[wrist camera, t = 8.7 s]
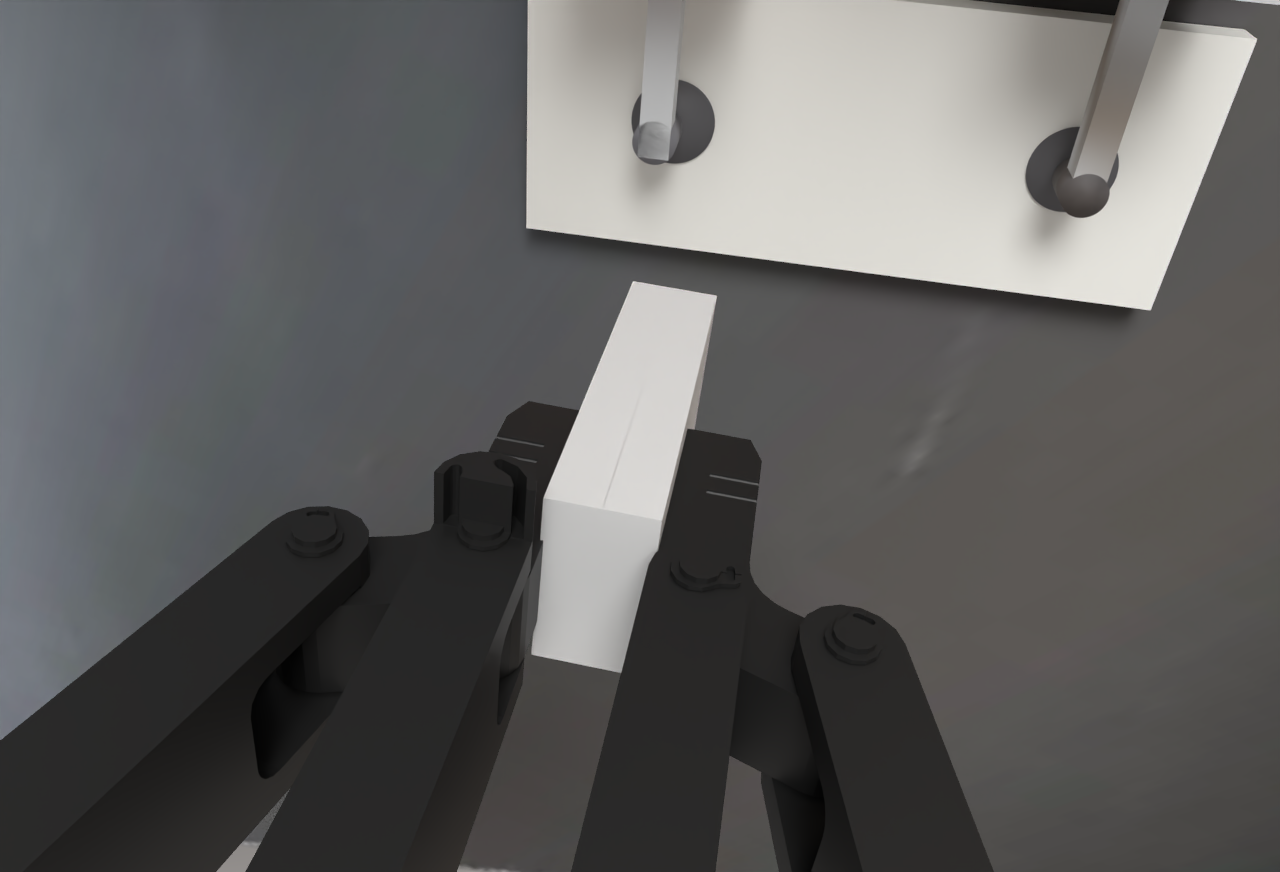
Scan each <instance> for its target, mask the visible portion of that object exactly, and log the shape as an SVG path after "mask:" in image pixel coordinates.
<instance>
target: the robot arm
mask: <svg viewBox="0 0 1280 872" xmlns="http://www.w3.org/2000/svg"><path fill="white" fill-rule="evenodd" d="M716 298H717V296H715V295H709V294H703V293H698V292H692V291H686V290H681V289H675V288H669V287H664V286H658V285H652V284H646V283H641V282H635V281H633V283H632V285H631V288H630V290H629V292H628V295H627V297H626V300H625V302H624V304H623V307H622V309H621V312H620V314H619V316H618V319H617V321H616V324H615V326H614V329H613V331H612V333H611V336H610V338H609V341H608V343H607V345H606V348H605V350H604V353H603V355H602V357H601V360H600V362H599V365H598V367H597V370H596V372H595V374H594V377H593V379H592V382H591V384H590V386H589V389H588V391H587V394H586V396H585V399H584V401H583V403H582V406H581V408H580V411H579V410H573V409H568V408H562V407H557V406H552V405H546V404H541V403H535V402H530V401H529V402H527V403H526V404H524V405H523V406H521V407H520V408H518V409H517V410H515V411H514V412H512V413H511V414H509V415H508V416H507V417H506V419H505V421H504V423H503V425H502V427H501V429H500V431H499V433H498V435H497V439H495V440H494V442H493V444H492V446H491V448H490V450H489V452H473V453H467V454H460V455H458V456H456V457H454V458H451V459H449V460H447V461H445V462H444V463H443V464H442V465H441V466H440V467H439V468H438V469H437V470H436V471H435V472H434V524H433V526H432V528H431V530H430V531H426V532H422V533H419V534H415V535H405V536H388V537H369V530H368V529H367V527H366V526H365V524H364V523H363V521H362V519H361V518H359V517H357V516H355V515H354V514H352V513H350V512H349V511H347V510H342V509H338V508H334V507H329V506H326V507H306V508H302V509H298V510H295V511H291V512H288V513H286V514H284V515H283V516H281V517H279V518H277V519H276V520H274V521H272V522H271V523H270V524H268V525H267V526H266V527H265V528H263V529H262V530H261V531H260V532H258V533H257V534H256V535H255V536H254V537H252V538H251V539H250V540H249V541H247V542H246V543H245V544H244V545H242V546H241V547H240V548H239V549H237V550H236V551H235V552H234V553H232V554H231V555H230V556H229V557H227V558H226V559H225V560H224V561H222V562H221V563H220V564H219V565H218V566H216V567H215V568H214V569H213V570H211V571H210V572H209V573H208V574H206V575H205V576H204V577H203V578H201V579H200V580H199V581H198V582H196V583H195V584H194V585H193V586H191V587H190V588H189V589H188V590H187V591H185V592H184V593H183V594H182V595H180V596H179V597H178V598H177V599H175V600H174V601H173V602H172V603H170V604H169V605H168V606H167V607H165V608H164V609H163V610H162V611H160V612H159V613H158V614H157V615H155V616H154V617H153V618H152V619H151V620H149V621H148V622H147V623H146V624H144V625H143V626H142V627H141V628H139V629H138V630H137V631H136V632H134V633H133V634H132V635H131V636H129V637H128V638H127V639H126V640H124V641H123V642H122V643H121V644H120V645H118V646H117V647H116V648H115V649H113V650H112V651H111V652H110V653H108V654H107V655H106V656H105V657H103V658H102V659H101V660H100V661H98V662H97V663H96V664H95V665H93V666H92V667H91V668H90V669H88V670H87V671H86V672H85V673H84V674H82V675H81V676H80V677H79V678H77V679H76V680H75V681H74V682H72V683H71V684H70V685H69V686H67V687H66V688H65V689H64V690H62V691H61V692H60V693H59V694H57V695H56V696H55V697H54V698H53V699H51V700H50V701H49V702H48V703H46V704H45V705H44V706H43V707H41V708H40V709H39V710H38V711H36V712H35V713H34V714H33V715H31V716H30V717H29V718H28V719H26V720H25V721H24V722H23V723H21V724H20V725H19V726H18V727H17V728H15V729H14V730H13V731H12V732H10V733H9V734H8V735H7V736H5V737H4V738H3V739H2V740H0V872H216V871H217V870H218V869H219V868H220V867H221V865H222V864H223V863H224V862H225V861H226V860H227V859H228V858H229V856H230V855H231V854H232V853H233V852H234V851H235V850H236V849H237V847H238V846H239V845H240V844H241V843H242V842H243V841H244V839H245V838H246V837H247V836H248V835H249V834H250V833H251V832H252V830H253V829H254V828H255V827H256V826H257V825H258V824H259V823H260V821H261V820H262V819H263V818H264V817H265V816H266V815H267V813H268V812H269V811H270V810H271V809H272V808H273V807H274V806H275V804H276V803H277V802H278V801H279V800H280V799H281V798H282V796H283V795H284V794H285V793H286V792H287V791H288V790H289V789H290V787H291V786H292V787H291V789H290V790H289V792H288V794H287V796H286V798H285V800H284V801H283V803H282V805H281V807H280V809H279V811H278V813H277V814H276V816H275V818H274V820H273V822H272V824H271V826H270V827H269V829H268V831H267V833H266V835H265V837H264V838H263V840H262V842H261V844H260V846H259V848H258V850H257V852H256V853H255V855H254V857H253V859H252V861H251V863H250V864H249V866H248V868H247V870H246V872H457V869H458V867H459V864H460V861H461V858H462V855H463V852H464V849H465V846H466V844H467V841H468V838H469V835H470V832H471V829H472V826H473V824H474V821H475V818H476V815H477V812H478V809H479V806H480V804H481V801H482V798H483V795H484V792H485V789H486V786H487V783H488V781H489V778H490V775H491V772H492V769H493V766H494V763H495V761H496V758H497V755H498V752H499V749H500V746H501V743H502V740H503V738H504V735H505V732H506V729H507V726H508V723H509V720H510V718H511V715H512V712H513V709H514V706H515V703H516V700H517V698H518V695H519V692H520V689H521V686H522V682H523V669H524V657H525V654H526V651H527V648H528V645H529V643H530V640H531V637H532V634H533V640H532V654H531V655H536V656H541V657H546V658H551V659H556V660H561V661H565V662H570V663H575V664H580V665H585V666H590V667H595V668H600V669H605V670H609V671H614V672H619V673H621V676H620V680H619V684H618V688H617V692H616V696H615V700H614V704H613V708H612V712H611V716H610V719H609V723H608V727H607V731H606V735H605V739H604V743H603V747H602V751H601V755H600V759H599V763H598V767H597V771H596V775H595V779H594V783H593V787H592V791H591V795H590V799H589V803H588V807H587V811H586V815H585V819H584V823H583V827H582V831H581V835H580V839H579V843H578V847H577V850H576V854H575V858H574V862H573V866H572V870H571V872H715V870H716V862H717V853H718V845H719V837H720V829H721V820H722V812H723V804H724V796H725V787H726V779H727V771H728V763H729V755H730V756H732V757H734V758H735V759H737V760H739V761H741V762H743V763H745V764H747V765H749V766H751V767H753V768H755V769H757V770H759V771H761V784H762V789H763V794H764V799H765V804H766V809H767V814H768V819H769V824H770V829H771V834H772V839H773V844H774V849H775V854H776V859H777V864H778V869H779V872H994V871H993V869H992V866H991V863H990V861H989V858H988V856H987V853H986V851H985V848H984V845H983V843H982V840H981V838H980V835H979V833H978V830H977V827H976V825H975V822H974V820H973V817H972V814H971V812H970V809H969V807H968V804H967V802H966V799H965V796H964V794H963V791H962V789H961V786H960V784H959V781H958V778H957V776H956V773H955V771H954V768H953V766H952V763H951V760H950V758H949V755H948V753H947V750H946V748H945V745H944V742H943V740H942V737H941V735H940V732H939V730H938V727H937V724H936V722H935V719H934V717H933V714H932V711H931V709H930V706H929V704H928V701H927V699H926V696H925V693H924V691H923V688H922V686H921V683H920V681H919V678H918V675H917V673H916V670H915V668H914V665H913V663H912V660H911V657H910V655H909V652H908V650H907V647H906V645H905V643H904V641H903V640H902V638H901V637H900V635H899V634H898V632H897V631H896V629H895V628H893V627H892V626H891V625H890V624H888V623H887V622H886V621H885V620H883V619H882V618H881V617H879V616H877V615H875V614H873V613H870V612H868V611H866V610H864V609H861V608H856V607H851V606H845V605H834V606H825V607H821V608H819V609H817V610H815V611H813V612H811V613H809V614H807V616H806V617H805V618H803V617H801V616H799V615H797V614H795V613H792V612H790V611H788V610H786V609H784V608H783V607H781V606H779V605H777V604H775V603H774V602H773V601H771V600H770V599H769V598H768V597H766V596H765V595H764V594H763V593H762V592H761V591H760V589H759V588H758V587H757V586H756V584H755V583H754V580H753V578H752V576H751V573H750V563H749V562H750V554H751V546H752V537H753V529H754V521H755V512H756V504H757V503H756V502H757V496H758V488H759V479H760V471H761V463H762V461H761V459H760V457H759V455H758V453H757V451H756V449H755V447H754V446H753V444H752V442H751V440H747V439H742V438H736V437H731V436H726V435H720V434H715V433H709V432H704V431H699V430H694V428H695V423H696V417H697V411H698V405H699V399H700V393H701V387H702V381H703V375H704V369H705V364H706V358H707V352H708V346H709V340H710V334H711V328H712V322H713V316H714V310H715V304H716Z"/></svg>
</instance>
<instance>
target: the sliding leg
mask: <svg viewBox="0 0 1280 872" xmlns="http://www.w3.org/2000/svg"><path fill="white" fill-rule="evenodd" d="M685 3H686V0H648V9H647V24H646V38H645V53H644V68H643V82H642V97H641V111H640V123H639V125H638V127H637V129H636V130H635V132H634V135H633V138H632V146H633V150H634V152H635V154H636V155H637V157H638V158H639V159H640V160H642V161H643V162H645V163H647V164H651V165H659V164H663V163H665V162H667V161H668V160H669V159H670V158H671V157H672V156H673V154H674V152H675V149H676V147H677V144H678V142H679V139H680V137H681V134H682V122H681V119H680V117H679V116H678V114H677V113H676V105H677V93H678V82H679V71H680V59H681V48H682V37H683V25H684V14H685Z"/></svg>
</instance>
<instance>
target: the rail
mask: <svg viewBox="0 0 1280 872" xmlns="http://www.w3.org/2000/svg"><path fill="white" fill-rule="evenodd" d="M1238 1H1247V2H1257V3H1267V4H1276V5H1280V0H1238ZM1168 2H1169V0H1120V1H1119V4H1118V8H1117V11H1116V14H1115V17H1114V20H1113V23H1112V27H1111V30H1110V33H1109V36H1108V39H1107V43H1106V46H1105V49H1104V52H1103V55H1102V58H1101V62H1100V65H1099V68H1098V71H1097V74H1096V78H1095V81H1094V84H1093V87H1092V90H1091V93H1090V97H1089V100H1088V103H1087V106H1086V109H1085V112H1084V116H1083V119H1082V122H1081V125H1080V128H1079V132H1078V135H1077V138H1076V141H1075V144H1074V147H1073V151H1072V154H1071V157H1070V158H1068V159H1066V160H1064V161H1063V162H1061V163H1060V164H1059V165H1058V166H1057V168H1056V169H1055V171H1054V173H1053V176H1052V185H1053V188H1054V190H1055V193H1056V195H1057V197H1058V199H1059V202H1060V204H1061V206H1062V208H1063V210H1064V211H1065V212H1066V213H1067V214H1069V215H1070V216H1072V217H1076V218H1086V217H1090V216H1093V215H1095V214H1097V213H1098V212H1099V211H1101V210H1102V209H1103V208H1104V206H1105V205H1106V203H1107V202H1108V199H1109V195H1110V190H1109V186H1108V184H1107V181H1108V179H1109V176H1110V173H1111V170H1112V167H1113V164H1114V161H1115V158H1116V155H1117V152H1118V149H1119V146H1120V143H1121V140H1122V137H1123V134H1124V132H1125V129H1126V126H1127V123H1128V120H1129V117H1130V114H1131V111H1132V108H1133V105H1134V102H1135V99H1136V96H1137V93H1138V90H1139V87H1140V84H1141V82H1142V79H1143V76H1144V73H1145V70H1146V67H1147V64H1148V61H1149V58H1150V55H1151V52H1152V49H1153V46H1154V43H1155V40H1156V37H1157V35H1158V32H1159V29H1160V26H1161V23H1162V20H1163V17H1164V14H1165V11H1166V8H1167V5H1168Z"/></svg>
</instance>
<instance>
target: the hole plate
mask: <svg viewBox="0 0 1280 872" xmlns="http://www.w3.org/2000/svg"><path fill="white" fill-rule="evenodd" d="M647 9H648V0H528V61H527V223H526V228H530V229H537V230H545V231H553V232H560V233H568V234H575V235H583V236H590V237H598V238H606V239H613V240H621V241H628V242H636V243H644V244H651V245H659V246H666V247H674V248H682V249H689V250H697V251H704V252H712V253H720V254H727V255H735V256H742V257H750V258H757V259H765V260H773V261H780V262H788V263H795V264H803V265H811V266H818V267H826V268H833V269H841V270H849V271H856V272H864V273H871V274H879V275H886V276H894V277H902V278H909V279H917V280H924V281H932V282H940V283H947V284H955V285H962V286H970V287H978V288H985V289H993V290H1000V291H1008V292H1015V293H1023V294H1031V295H1038V296H1046V297H1053V298H1061V299H1069V300H1076V301H1084V302H1091V303H1099V304H1107V305H1114V306H1122V307H1129V308H1137V309H1144V310H1151V308H1152V305H1153V303H1154V300H1155V298H1156V295H1157V292H1158V290H1159V287H1160V285H1161V282H1162V280H1163V277H1164V275H1165V272H1166V270H1167V267H1168V265H1169V262H1170V259H1171V257H1172V254H1173V252H1174V249H1175V247H1176V244H1177V242H1178V239H1179V237H1180V234H1181V232H1182V229H1183V227H1184V224H1185V221H1186V219H1187V216H1188V214H1189V211H1190V209H1191V206H1192V204H1193V201H1194V199H1195V196H1196V194H1197V191H1198V188H1199V186H1200V183H1201V181H1202V178H1203V176H1204V173H1205V171H1206V168H1207V166H1208V163H1209V161H1210V158H1211V155H1212V153H1213V150H1214V148H1215V145H1216V143H1217V140H1218V138H1219V135H1220V133H1221V130H1222V128H1223V125H1224V123H1225V120H1226V117H1227V115H1228V112H1229V110H1230V107H1231V105H1232V102H1233V100H1234V97H1235V95H1236V92H1237V90H1238V87H1239V84H1240V82H1241V79H1242V77H1243V74H1244V72H1245V69H1246V67H1247V64H1248V62H1249V59H1250V57H1251V54H1252V51H1253V49H1254V46H1255V44H1256V41H1257V39H1256V38H1255V37H1254V36H1252V35H1251V34H1250V33H1248V32H1247V31H1246V30H1245V29H1235V28H1226V27H1217V26H1207V25H1198V24H1188V23H1179V22H1170V21H1162V23H1161V26H1160V29H1159V32H1158V35H1157V37H1156V40H1155V43H1154V46H1153V49H1152V52H1151V55H1150V58H1149V61H1148V64H1147V67H1146V70H1145V73H1144V76H1143V79H1142V82H1141V84H1140V87H1139V90H1138V93H1137V96H1136V99H1135V102H1134V105H1133V108H1132V111H1131V114H1130V117H1129V120H1128V123H1127V126H1126V129H1125V132H1124V134H1123V137H1122V140H1121V143H1120V146H1119V149H1118V152H1117V155H1116V158H1115V161H1114V164H1113V167H1112V170H1111V173H1110V176H1109V179H1108V181H1107V184H1108V186H1109V190H1110V195H1109V199H1108V202H1107V203H1106V205H1105V206H1104V208H1103V209H1102V210H1101V211H1099V212H1098V213H1097V214H1095V215H1093V216H1090V217H1086V218H1076V217H1072V216H1070V215H1069V214H1067V213H1066V212H1065V211H1064V210H1063V208H1062V206H1061V204H1060V202H1059V199H1058V197H1057V195H1056V193H1055V190H1054V188H1053V185H1052V176H1053V173H1054V171H1055V169H1056V168H1057V166H1058V165H1059V164H1060V163H1061V162H1063V161H1064V160H1066V159H1068V158H1070V157H1071V154H1072V151H1073V147H1074V144H1075V141H1076V138H1077V135H1078V132H1079V128H1080V125H1081V122H1082V119H1083V116H1084V112H1085V109H1086V106H1087V103H1088V100H1089V97H1090V93H1091V90H1092V87H1093V84H1094V81H1095V78H1096V74H1097V71H1098V68H1099V65H1100V62H1101V58H1102V55H1103V52H1104V49H1105V46H1106V43H1107V39H1108V36H1109V33H1110V30H1111V27H1112V23H1113V20H1114V17H1115V16H1114V15H1104V14H1095V13H1086V12H1076V11H1067V10H1057V9H1048V8H1039V7H1029V6H1020V5H1011V4H1001V3H992V2H983V1H973V0H686V3H685V14H684V25H683V37H682V48H681V59H680V71H679V82H678V93H677V105H676V113H677V114H678V116H679V117H680V119H681V122H682V134H681V137H680V139H679V142H678V144H677V147H676V149H675V152H674V154H673V156H672V157H671V158H670V159H669V160H668V161H667V162H665V163H663V164H659V165H651V164H647V163H645V162H643V161H642V160H640V159H639V158H638V157H637V155H636V154H635V152H634V150H633V146H632V138H633V135H634V132H635V130H636V129H637V127H638V125H639V123H640V111H641V97H642V82H643V68H644V53H645V38H646V24H647Z"/></svg>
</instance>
